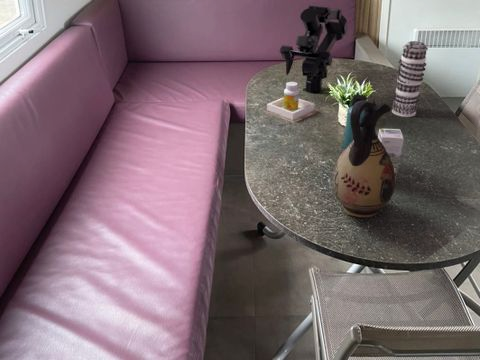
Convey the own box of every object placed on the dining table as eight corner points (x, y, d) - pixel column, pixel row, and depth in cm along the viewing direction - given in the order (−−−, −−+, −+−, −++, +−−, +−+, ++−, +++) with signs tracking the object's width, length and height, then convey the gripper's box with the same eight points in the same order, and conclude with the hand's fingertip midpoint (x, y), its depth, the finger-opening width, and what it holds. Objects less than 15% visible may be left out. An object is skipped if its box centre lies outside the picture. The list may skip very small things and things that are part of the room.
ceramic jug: (354, 185, 140) (369, 82, 124) (402, 209, 130) (424, 100, 114) (312, 207, 131) (322, 99, 115) (359, 235, 121) (377, 121, 105)
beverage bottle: (363, 164, 150) (372, 101, 139) (340, 162, 151) (348, 99, 141) (363, 154, 155) (372, 92, 145) (341, 152, 157) (348, 91, 146)
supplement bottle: (279, 109, 182) (280, 83, 177) (290, 105, 185) (291, 79, 180) (290, 113, 178) (292, 87, 173) (301, 109, 181) (302, 83, 176)
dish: (288, 102, 189) (288, 95, 187) (313, 111, 182) (314, 103, 180) (266, 111, 182) (267, 104, 180) (292, 121, 175) (293, 113, 173)
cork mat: (288, 101, 191) (288, 100, 191) (318, 112, 182) (318, 111, 182) (263, 112, 182) (263, 111, 182) (294, 124, 174) (294, 122, 174)
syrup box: (392, 173, 145) (400, 127, 138) (395, 184, 140) (404, 137, 133) (371, 172, 146) (379, 127, 138) (374, 183, 141) (382, 136, 133)
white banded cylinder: (389, 115, 180) (401, 45, 167) (391, 105, 187) (402, 38, 174) (416, 118, 177) (430, 48, 164) (417, 108, 185) (430, 40, 172)
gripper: (282, 22, 180) (268, 61, 177) (332, 29, 172) (319, 70, 170) (290, 39, 190) (277, 76, 187) (337, 45, 183) (325, 84, 180)
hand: (298, 76), depth 181 cm, fingers open, 9 cm apart
